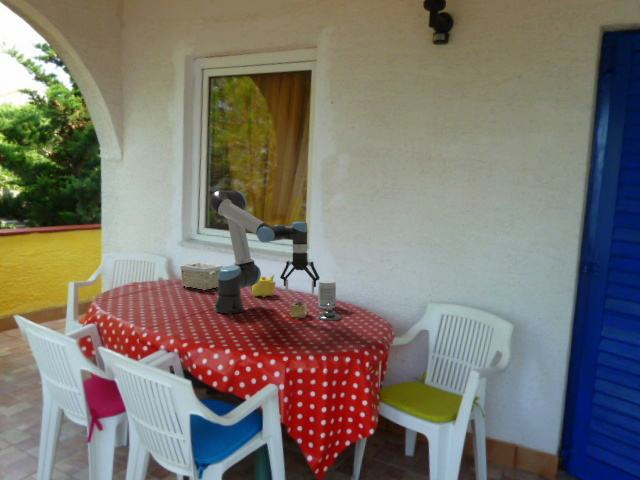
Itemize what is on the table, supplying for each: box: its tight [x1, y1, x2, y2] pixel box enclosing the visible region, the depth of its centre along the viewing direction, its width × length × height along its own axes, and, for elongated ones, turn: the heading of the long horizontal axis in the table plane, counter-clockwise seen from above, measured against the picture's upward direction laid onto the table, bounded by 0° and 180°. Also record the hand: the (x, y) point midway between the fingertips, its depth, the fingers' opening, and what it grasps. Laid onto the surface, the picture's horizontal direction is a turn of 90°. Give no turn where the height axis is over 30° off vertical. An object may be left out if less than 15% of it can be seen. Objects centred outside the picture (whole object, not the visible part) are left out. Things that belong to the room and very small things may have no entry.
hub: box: [317, 304, 342, 322], centre depth 252 cm, size 12×12×7 cm
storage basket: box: [179, 261, 224, 289], centre depth 315 cm, size 24×16×15 cm
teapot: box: [251, 274, 277, 298], centre depth 296 cm, size 14×14×12 cm
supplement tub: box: [317, 279, 337, 310], centre depth 272 cm, size 10×10×15 cm
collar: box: [290, 301, 308, 319], centre depth 254 cm, size 7×7×6 cm
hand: (299, 292), depth 253 cm, fingers open, 13 cm apart
